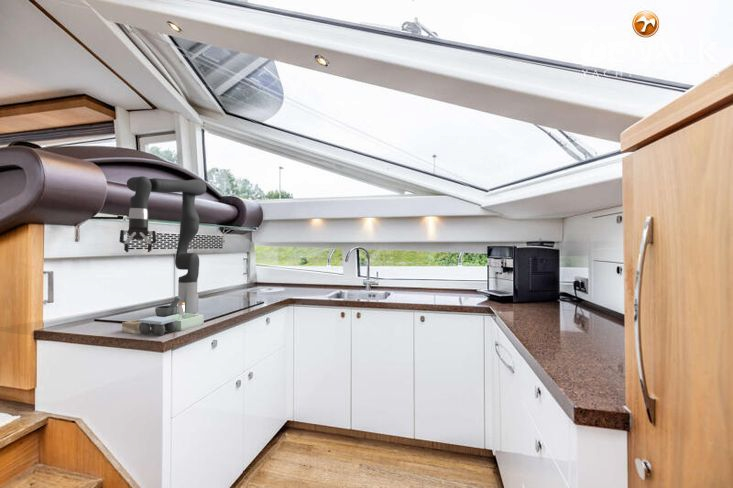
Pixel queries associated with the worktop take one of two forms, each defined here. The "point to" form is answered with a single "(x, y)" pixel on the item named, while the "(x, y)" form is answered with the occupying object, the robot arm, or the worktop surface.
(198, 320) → the tray
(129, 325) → the stop block
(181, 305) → the stop pin
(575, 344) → the worktop surface
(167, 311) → the mortar and pestle
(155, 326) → the trolley
